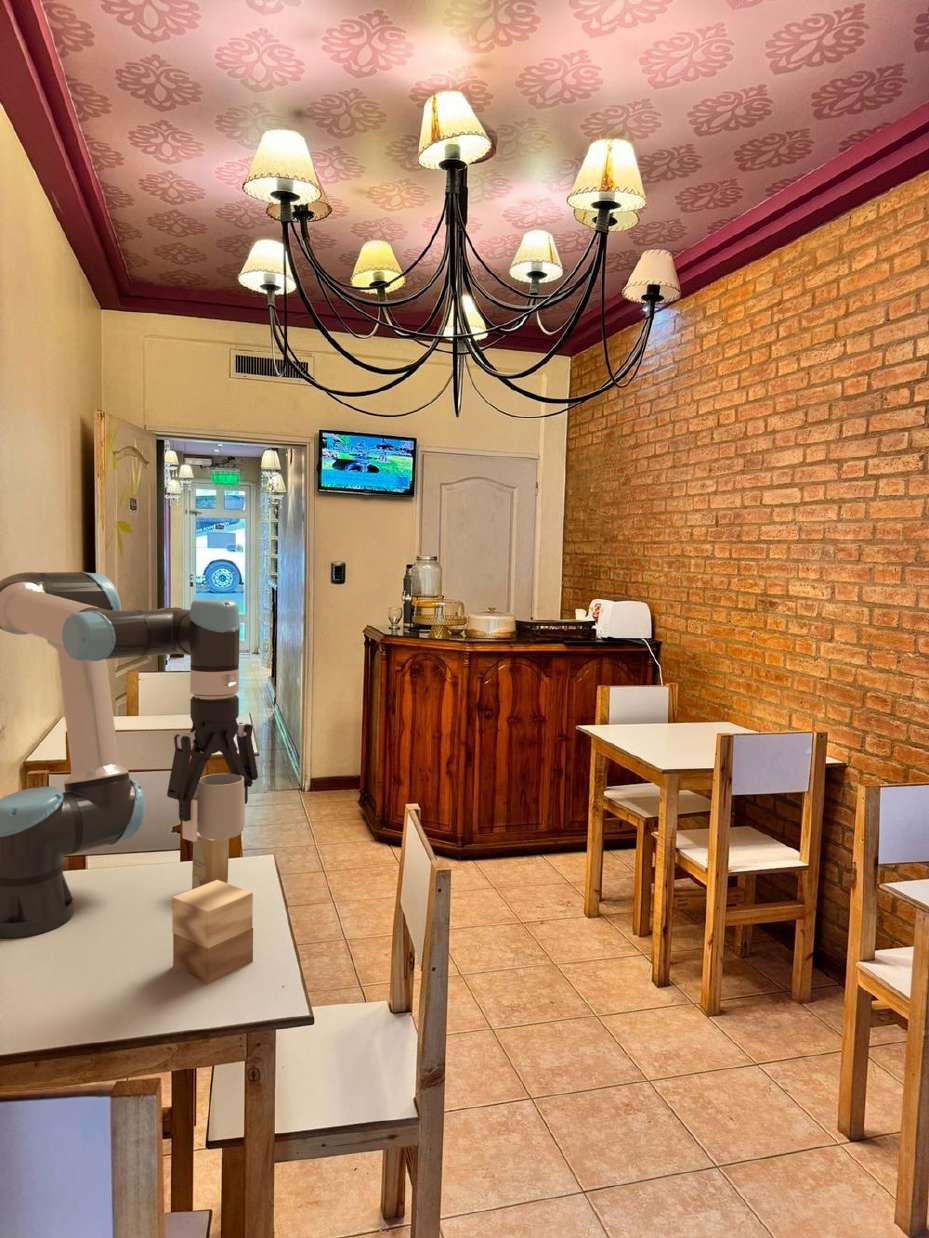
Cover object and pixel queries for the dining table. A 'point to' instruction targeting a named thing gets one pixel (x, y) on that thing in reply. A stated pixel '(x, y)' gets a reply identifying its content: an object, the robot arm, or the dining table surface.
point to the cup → (220, 806)
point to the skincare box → (209, 861)
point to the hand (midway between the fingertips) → (214, 831)
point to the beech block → (212, 913)
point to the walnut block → (213, 956)
